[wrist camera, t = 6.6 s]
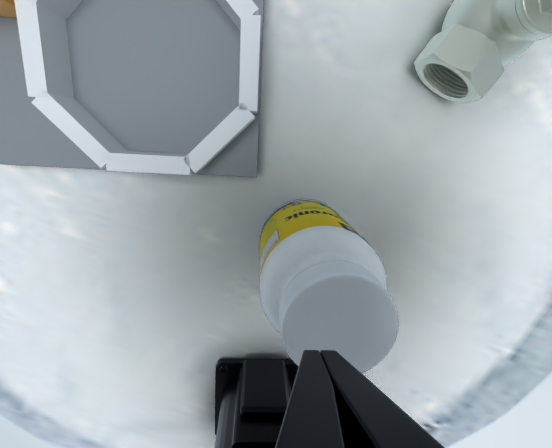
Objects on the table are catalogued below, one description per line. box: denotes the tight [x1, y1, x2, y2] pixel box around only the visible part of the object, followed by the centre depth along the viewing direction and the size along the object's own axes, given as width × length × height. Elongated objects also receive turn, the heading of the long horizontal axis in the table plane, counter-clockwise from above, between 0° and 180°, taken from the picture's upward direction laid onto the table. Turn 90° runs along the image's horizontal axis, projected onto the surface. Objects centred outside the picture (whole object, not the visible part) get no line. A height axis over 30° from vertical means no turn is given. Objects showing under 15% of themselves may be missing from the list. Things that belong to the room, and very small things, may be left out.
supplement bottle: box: [259, 199, 399, 373], centre depth 15 cm, size 5×5×10 cm
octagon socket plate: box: [0, 0, 264, 177], centre depth 15 cm, size 12×14×4 cm
